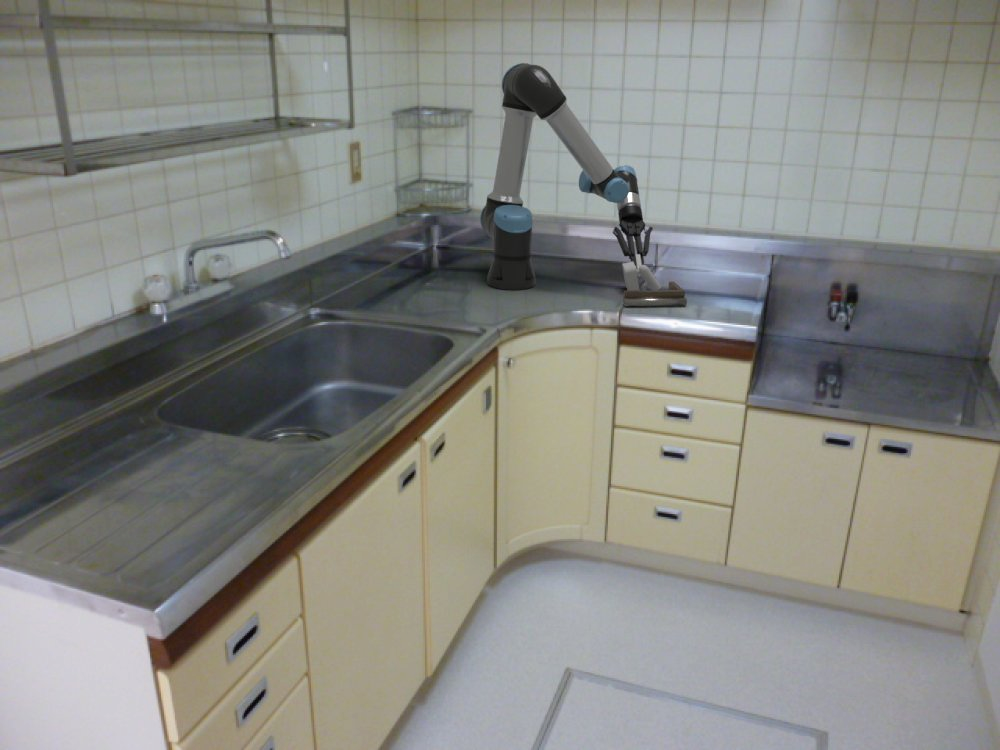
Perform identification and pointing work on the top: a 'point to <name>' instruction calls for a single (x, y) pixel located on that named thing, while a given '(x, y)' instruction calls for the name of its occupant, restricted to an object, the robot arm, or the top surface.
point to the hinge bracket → (656, 297)
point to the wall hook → (632, 278)
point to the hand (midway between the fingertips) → (639, 274)
